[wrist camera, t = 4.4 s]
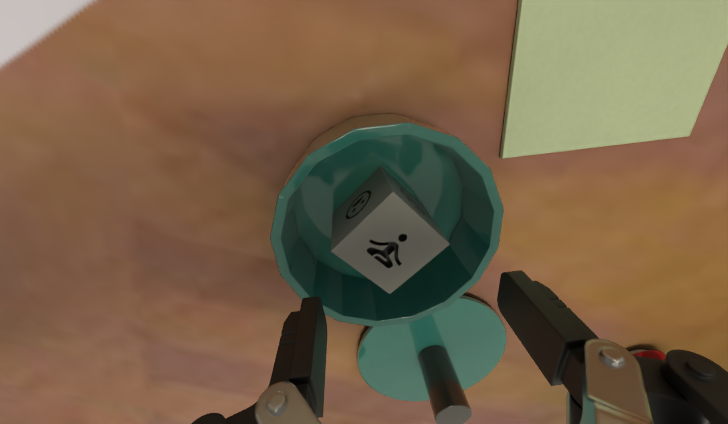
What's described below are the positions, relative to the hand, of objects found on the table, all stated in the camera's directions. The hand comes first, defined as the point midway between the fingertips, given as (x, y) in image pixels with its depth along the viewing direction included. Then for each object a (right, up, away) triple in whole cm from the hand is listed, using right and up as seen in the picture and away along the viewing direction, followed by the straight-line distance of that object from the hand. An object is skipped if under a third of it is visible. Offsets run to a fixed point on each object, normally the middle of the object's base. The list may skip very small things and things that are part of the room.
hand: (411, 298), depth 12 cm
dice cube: (-1, +4, +9) cm, 10 cm away
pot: (-1, +4, +9) cm, 10 cm away
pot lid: (+5, -10, +15) cm, 19 cm away
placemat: (+14, +15, +5) cm, 21 cm away
